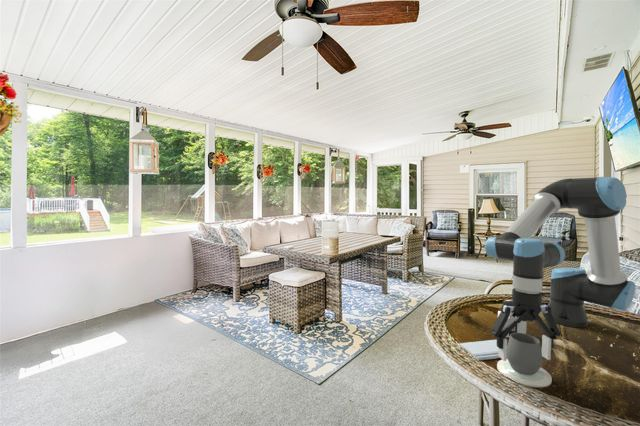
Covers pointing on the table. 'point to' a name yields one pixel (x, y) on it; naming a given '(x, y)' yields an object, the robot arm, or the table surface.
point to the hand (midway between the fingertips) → (524, 358)
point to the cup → (524, 353)
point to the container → (520, 326)
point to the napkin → (482, 349)
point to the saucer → (525, 375)
